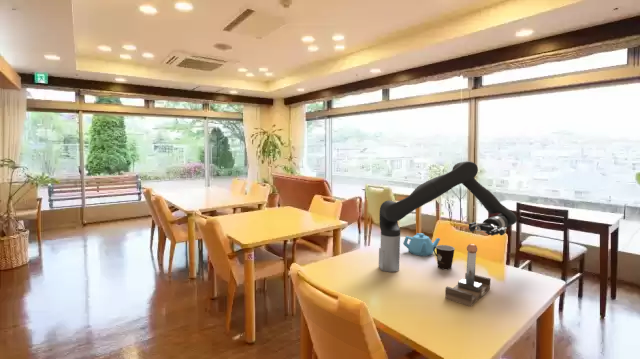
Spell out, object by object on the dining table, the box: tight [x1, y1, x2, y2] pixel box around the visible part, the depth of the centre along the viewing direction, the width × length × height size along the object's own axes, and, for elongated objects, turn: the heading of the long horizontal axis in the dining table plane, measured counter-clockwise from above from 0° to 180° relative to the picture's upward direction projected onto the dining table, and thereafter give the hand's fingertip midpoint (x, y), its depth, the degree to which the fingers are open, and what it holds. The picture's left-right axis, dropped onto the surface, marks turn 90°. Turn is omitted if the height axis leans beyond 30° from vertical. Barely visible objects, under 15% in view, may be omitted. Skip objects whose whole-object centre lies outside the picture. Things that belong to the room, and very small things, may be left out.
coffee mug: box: [433, 244, 456, 271], centre depth 176 cm, size 12×9×10 cm
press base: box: [444, 273, 492, 307], centre depth 145 cm, size 22×10×4 cm, turn 137°
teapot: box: [402, 232, 441, 257], centre depth 198 cm, size 15×15×11 cm
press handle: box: [457, 243, 482, 292], centre depth 145 cm, size 5×8×18 cm, turn 47°
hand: (481, 231), depth 151 cm, fingers open, 8 cm apart
